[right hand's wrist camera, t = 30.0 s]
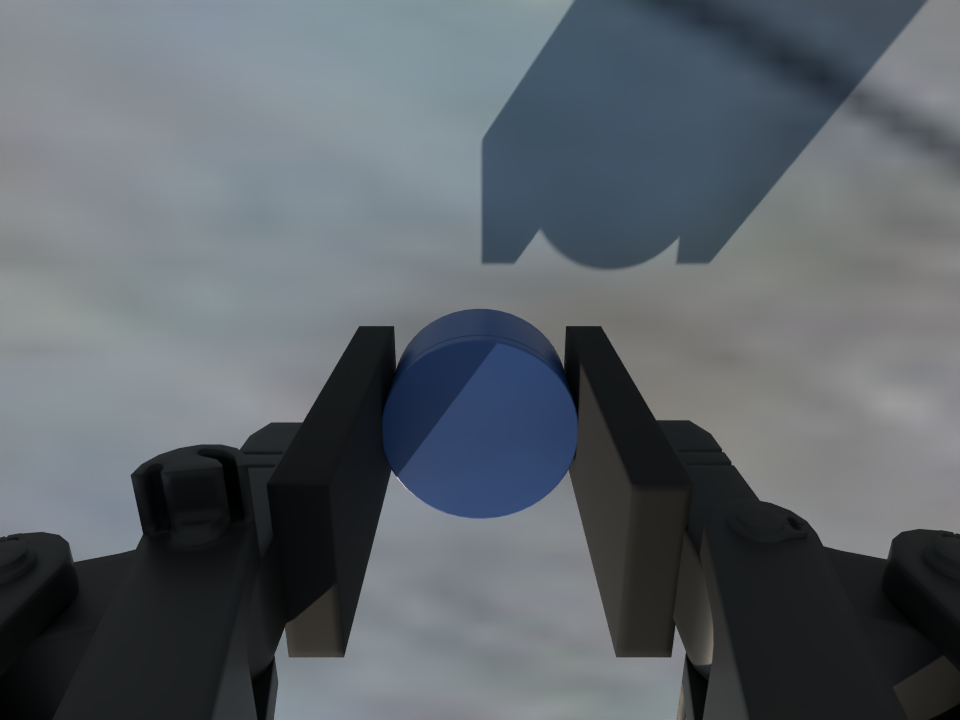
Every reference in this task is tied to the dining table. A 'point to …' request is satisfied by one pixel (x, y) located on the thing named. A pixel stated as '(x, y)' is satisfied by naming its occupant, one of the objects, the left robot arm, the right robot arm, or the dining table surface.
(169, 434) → the dining table surface
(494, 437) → the cap
